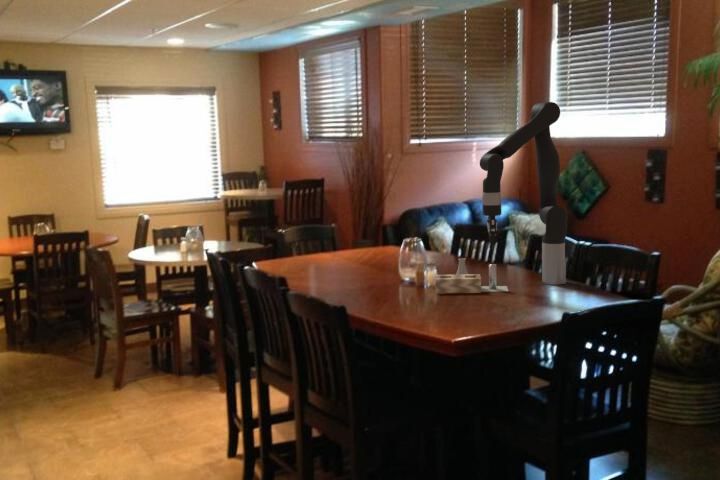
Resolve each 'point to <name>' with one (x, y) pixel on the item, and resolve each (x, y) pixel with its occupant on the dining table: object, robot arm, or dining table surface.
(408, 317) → the dining table surface
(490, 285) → the peg
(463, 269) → the flask
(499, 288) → the mat
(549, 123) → the robot arm
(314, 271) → the dining table surface
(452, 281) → the hole block
